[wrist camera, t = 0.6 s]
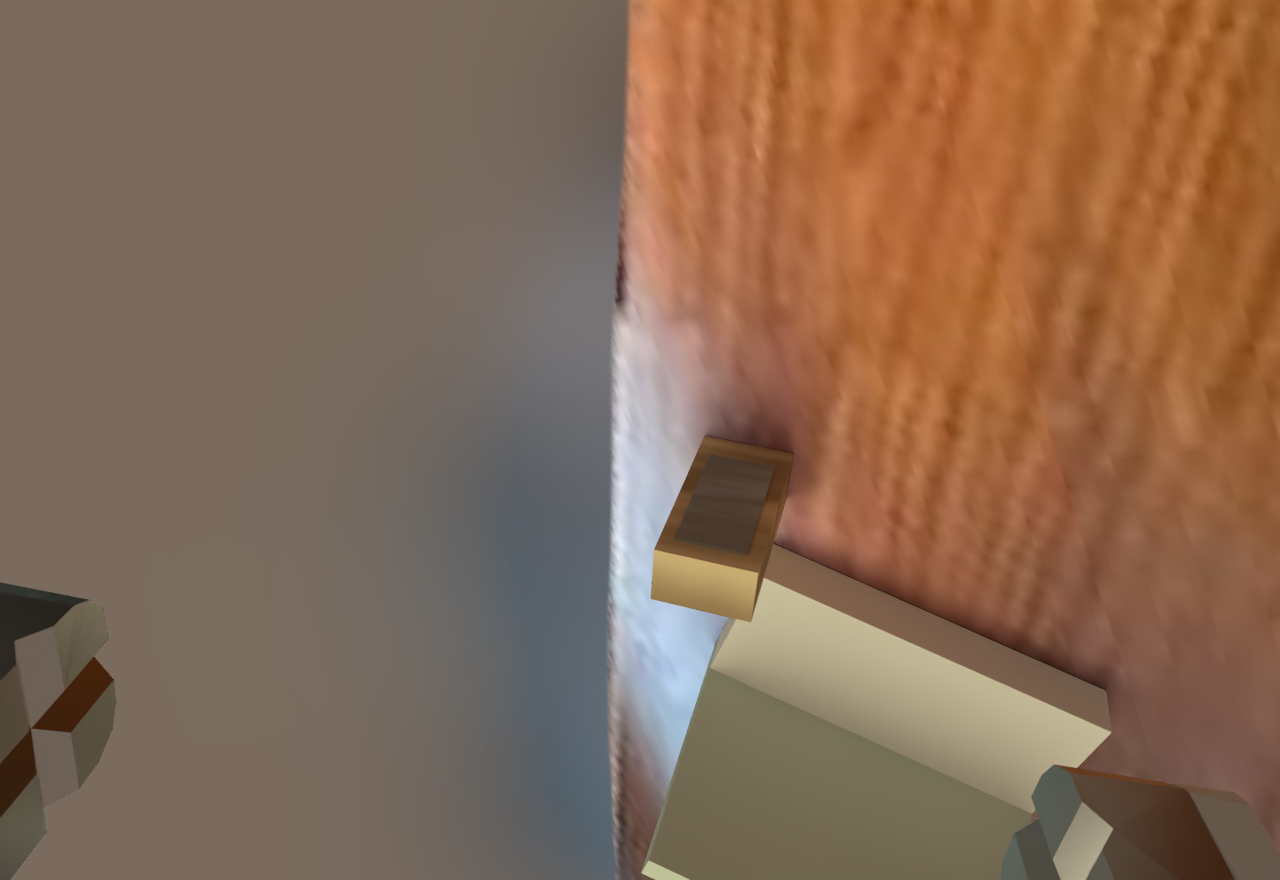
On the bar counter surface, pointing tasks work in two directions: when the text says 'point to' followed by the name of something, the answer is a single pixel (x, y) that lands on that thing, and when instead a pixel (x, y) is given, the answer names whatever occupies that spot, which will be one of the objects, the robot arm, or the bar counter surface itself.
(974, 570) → the bar counter surface
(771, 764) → the cream l-shaped bookend
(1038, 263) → the bar counter surface
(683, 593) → the small box
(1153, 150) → the bar counter surface
